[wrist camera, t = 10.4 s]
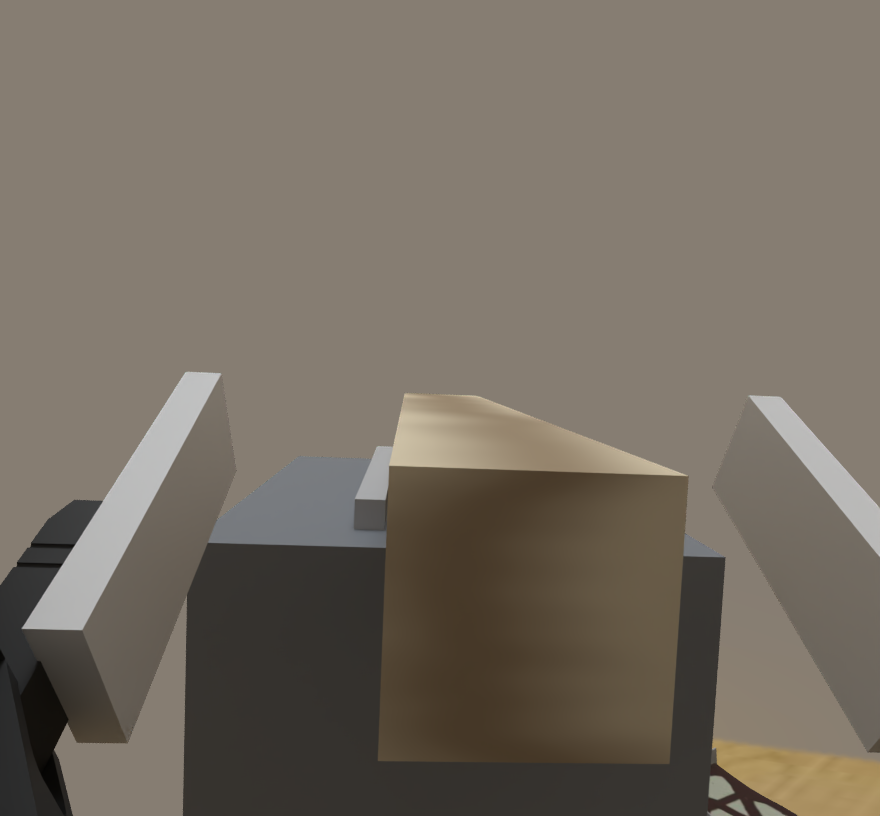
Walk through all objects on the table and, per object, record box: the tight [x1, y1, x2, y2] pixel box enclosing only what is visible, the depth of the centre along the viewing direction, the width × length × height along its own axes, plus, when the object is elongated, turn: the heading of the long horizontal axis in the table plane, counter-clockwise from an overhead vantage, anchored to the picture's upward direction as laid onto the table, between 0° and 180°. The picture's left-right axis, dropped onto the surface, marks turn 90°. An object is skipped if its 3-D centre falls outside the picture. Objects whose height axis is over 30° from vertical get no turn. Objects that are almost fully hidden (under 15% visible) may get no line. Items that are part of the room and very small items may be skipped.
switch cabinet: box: [183, 446, 725, 816], centre depth 29 cm, size 16×19×29 cm
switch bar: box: [378, 393, 689, 764], centre depth 21 cm, size 4×26×4 cm, turn 3°
